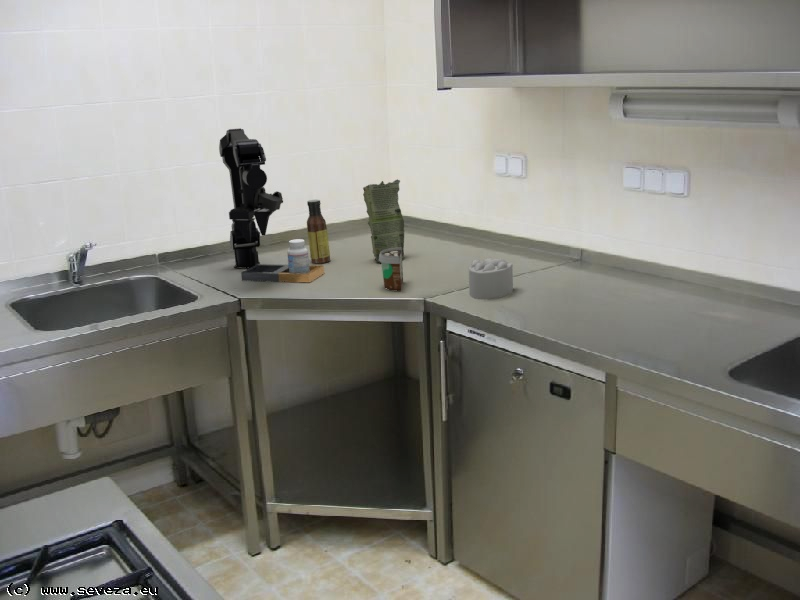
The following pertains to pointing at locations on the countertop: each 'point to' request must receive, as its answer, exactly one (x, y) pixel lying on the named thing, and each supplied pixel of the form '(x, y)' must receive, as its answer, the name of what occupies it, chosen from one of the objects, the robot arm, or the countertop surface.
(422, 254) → the countertop surface
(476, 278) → the lumpy-topped squat cylinder
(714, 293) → the countertop surface
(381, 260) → the food container
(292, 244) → the pill bottle
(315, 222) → the sauce bottle
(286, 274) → the metal frame
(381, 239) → the pouch
